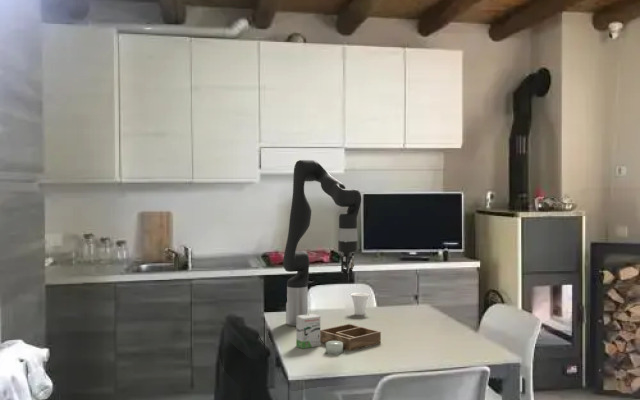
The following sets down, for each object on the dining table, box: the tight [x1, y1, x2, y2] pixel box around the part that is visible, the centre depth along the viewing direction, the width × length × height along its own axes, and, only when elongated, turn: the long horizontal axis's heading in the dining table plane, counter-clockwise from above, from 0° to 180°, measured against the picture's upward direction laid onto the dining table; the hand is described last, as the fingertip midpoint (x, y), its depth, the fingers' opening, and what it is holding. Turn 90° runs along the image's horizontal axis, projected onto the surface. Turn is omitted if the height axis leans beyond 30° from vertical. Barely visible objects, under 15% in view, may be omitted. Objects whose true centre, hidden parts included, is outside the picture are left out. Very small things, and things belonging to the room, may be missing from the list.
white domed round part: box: [325, 341, 344, 355], centre depth 217 cm, size 6×6×4 cm
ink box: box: [295, 313, 321, 349], centre depth 225 cm, size 9×5×12 cm, turn 123°
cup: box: [350, 292, 371, 316], centre depth 281 cm, size 9×9×10 cm
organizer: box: [320, 323, 382, 352], centre depth 230 cm, size 18×17×4 cm
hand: (347, 280), depth 227 cm, fingers open, 8 cm apart
